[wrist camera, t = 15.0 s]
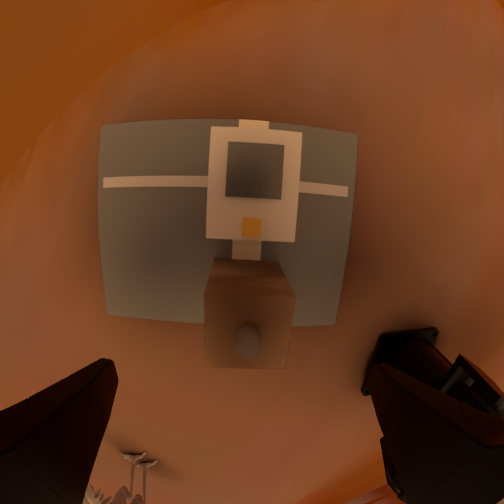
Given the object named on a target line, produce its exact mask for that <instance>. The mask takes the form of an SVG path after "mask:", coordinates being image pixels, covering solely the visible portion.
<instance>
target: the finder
mask: <svg viewBox="0 0 504 504" xmlns="http://www.w3.org/2000/svg"><path fill="white" fill-rule="evenodd" d="M301 148H302V133H301V132H293V131H283V130H273V129H260V128H244V127H218V126H211V135H210V151H209V168H208V188H207V215H206V238H212V239H235V240H258V241H278V242H295V232H296V220H297V208H298V195H299V181H300V166H301Z"/></svg>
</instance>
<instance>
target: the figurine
mask: <svg viewBox="0 0 504 504" xmlns="http://www.w3.org/2000/svg"><path fill="white" fill-rule="evenodd" d="M120 453H121V454H122V455H121V456H122V457H123V458H124V459H127V461H131V486H130V493H129V491H128V489H127V488H126V487H125V486H122V487H121V488H120V489H119V490H118V491H117V492H116V494H115V496H114V498H113V501H112V502H111V501H110V502H108V501H109V500H110V499H111V497H112V496H110V497H108V498H106V499H102V498H103V496H104V493H103V494H102V495H99V493H100V489H99V490H98V491H97V492H96V493H94V488H93V486H92V487H91V484H90V483H89V487H88V486H87V489H86V492H85V497H86V498H87V500H88V501H89V502H90V503H91V504H126V498H127V499H129V500H132V502H131V504H145V501H146V499H145V489H146V471H147V470H148V469H149V467H150V466H153V465H155V464H156V462H158V461H159V460H155V461H154V462H153V463H151V462H148V463H141V464H139V465H136V467H140V469H141V470H143V498H144V500H143V502H142V496H141V495H140V494H136V495H135V497H134V499H133V495H132V487H133V474H134V466H135V462H136V461H138V460H139V459H141V458H143V457H144V455H145V454H146V452H144V453H143V454H142V455H141V456H140V455H135V456H133V455H129V454H123V453H122V452H120ZM101 499H102V500H101Z"/></svg>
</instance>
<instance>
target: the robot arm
mask: <svg viewBox="0 0 504 504" xmlns="http://www.w3.org/2000/svg"><path fill="white" fill-rule="evenodd" d="M438 334H439V331H438V329H436V328H427V329H419V330H412V331H403V332H394V333H385V334H383V335H381V336H380V338H379V340H378V343H377V346H376V350H375V353H374V356H373V359H372V360H371V363H370V366H369V369H368V372H367V375H366V377H365V380H364V384H363V387H362V389H361V392H362V394H363V395H364V396H368V395H371V397H372V401H373V405H374V408H375V412H376V416H377V419H378V422H379V425H380V427H381V430H382V432H383V435H384V436H383V437H382V438H381V439H380V443H381V449H382V454H383V461H384V467H385V474H386V478H387V483H388V485H389V486H390V487H391V488H392V490H393V491H394V492H395V493H396V494H397V497H398V499H400V500H401V501H403V502H405V503H406V504H504V393H503V392H502V391H501V389H500V388H499V387H498V386H497V385H496V383H495V382H494V381H493V380H492V379H491V378H490V377H489V376H487V375H486V374H485V373H484V372H483V371H482V370H481V369H480V368H479V367H477V366H476V365H475V364H473V363H472V362H471V361H469V360H468V359H466V358H465V357H464V356H462V355H461V354H459V355H458V357H457V358H456V359H455V360H456V361H455V363H454V364H452V363H451V362H450V361H449V360H448V359H447V358H446V357H445V356H444V355H443V354H442V353H441V352H440V351H439V350H438V349H436V348H435V347H434V344H435V342H436V339H437V336H438ZM385 339H386V340H385ZM384 340H385V341H384ZM117 386H118V376H117V372H116V368H115V365H114V362H113V361H112V360H111V359H106V358H101V359H99V360H97V361H95V362H93V363H92V364H90V365H88V366H86V367H84V368H82V369H81V370H79V371H77V372H75V373H73V374H71V375H70V376H68V377H66V378H64V379H62V380H60V381H59V382H57V383H55V384H53V385H51V386H49V387H47V388H45V389H44V390H42V391H40V392H38V393H36V394H34V395H32V396H30V397H29V399H28V398H26V399H25V400H23V401H21V402H19V403H17V404H15V405H13V406H11V407H8V408H6V409H4V410H1V411H0V504H82V503H83V500H84V496H85V492H86V489H87V485H88V482H89V479H90V475H91V472H92V469H93V466H94V462H95V459H96V456H97V453H98V450H99V447H100V444H101V441H102V438H103V436H104V433H105V430H106V427H107V424H108V421H109V418H110V415H111V410H112V406H113V402H114V398H115V394H116V390H117Z"/></svg>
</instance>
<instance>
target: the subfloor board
mask: <svg viewBox="0 0 504 504" xmlns="http://www.w3.org/2000/svg"><path fill="white" fill-rule="evenodd" d="M211 126H218V127H244V128H260V129H273V130H283V131H293V132H301V133H302V148H301V166H300V181H299V195H298V208H297V220H296V232H295V242H278V241H258V240H235V239H212V238H206V215H207V188H208V168H209V151H210V135H211ZM357 138H358V134H354V133H349V132H343V131H337V130H332V129H325V128H319V127H312V126H304V125H296V124H288V123H278V122H269V121H258V120H242V119H239V120H233V119H170V120H151V121H138V122H127V123H118V124H109V125H102V126H101V134H100V146H99V163H98V228H99V245H100V257H101V268H102V277H103V285H104V292H105V299H106V306H107V312H108V315H116V316H124V317H132V318H141V319H151V320H161V321H172V322H185V323H200V324H204V292H205V288H206V285H207V282H208V278H209V275H210V271H211V268H212V264H213V261H214V258H222V259H241V260H262V261H279V264H280V266H281V268H282V270H283V272H284V274H285V276H286V278H287V280H288V282H289V284H290V286H291V288H292V291H293V293H294V295H295V297H296V301H295V308H294V315H293V322H292V326H331V325H335V321H336V317H337V312H338V306H339V301H340V296H341V290H342V285H343V279H344V273H345V266H346V260H347V253H348V245H349V238H350V230H351V221H352V212H353V202H354V190H355V177H356V161H357Z"/></svg>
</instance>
